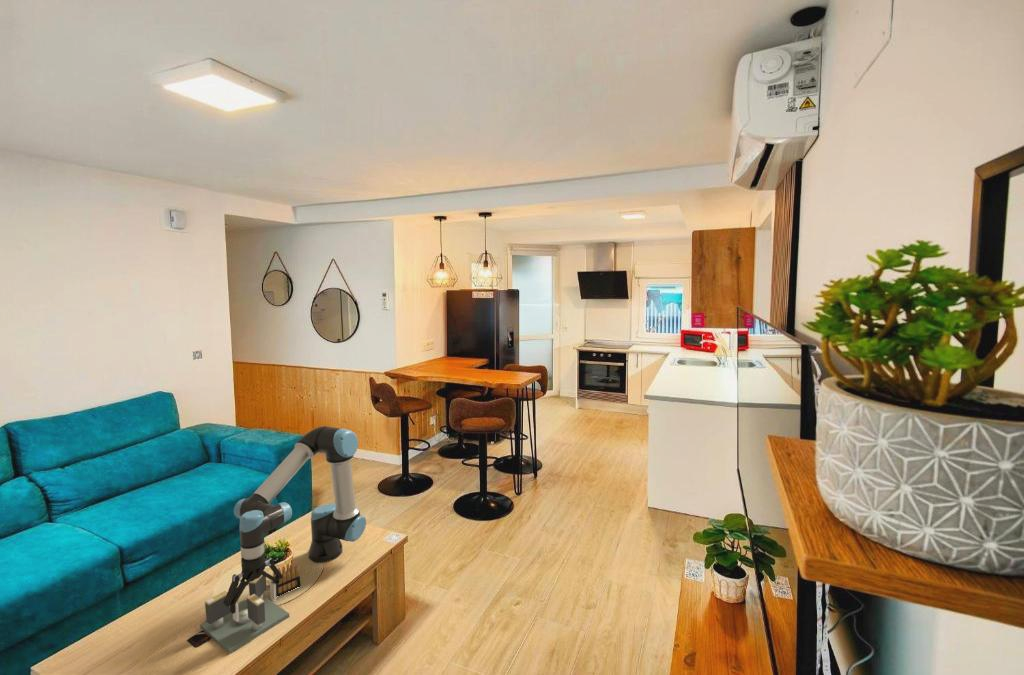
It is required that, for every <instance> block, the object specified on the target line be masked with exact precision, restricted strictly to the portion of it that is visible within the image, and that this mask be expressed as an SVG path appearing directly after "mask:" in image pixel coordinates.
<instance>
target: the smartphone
mask: <svg viewBox="0 0 1024 675" xmlns="http://www.w3.org/2000/svg"><path fill="white" fill-rule="evenodd" d="M211 640H213V639H212V638H211V637H210V636H209V635H208V634H207V633H206V632H204V631H203V630H202V629H201V631H198V632H197V633H195V634H194V635H192V636H190V637H189V638H188V639H187V640H186V642H187V643H188V644H190V645H191V646H193V647H194V648H199V647H201V646H203V645H205V644H206V643H207V642H209V641H211Z"/></svg>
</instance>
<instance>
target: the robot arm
mask: <svg viewBox="0 0 1024 675" xmlns="http://www.w3.org/2000/svg"><path fill="white" fill-rule="evenodd" d="M358 446H359V439H358V437H357V434H356V433H355V431H352V430H351V429H347V428H338V427H333V426H327V425H323V426H322V425H321V426H319V427H316V428H313V429H311V430H310V431H309V432H307V433H305V434H304V435H303V436H302V437H301V438H300V439H299V440H298V441H296V443H295V444H294V448H293V449H292V451H291V452H289V454H288V455H287V456H286V457H285V458H284V459H283V461H282V462H281V463H280V464H279V465H277V467H276V468H275V469H274V470H273V471H272V472H271V474H270V475H269V476H267V478H266V479H265V480H264V481H263V482H262V484H260V486H259V487H257V489H256V490H255V491H254V493H252V495H250V497H248V498H242V499H240V500H238V501H237V502H236V503H235V504H234V505H235V506H234V508H233V514H234V517H235V518H237V519H239V539H240V541H239V542H240V557H241V559H240V564H241V572H240V573H238V574H235V573H234V574H233V575H232V576H231V578H232V579H231V583H230V585H229V588H228V590H227V591H226V592H227V595H226V597H225V600H224V602H223V604H225V605H226V606H227V607H229V606H230V612H231V613H232V614H233V619H234V620H235V621H236V622H238V621H239V609H238V600H239V599H240V598H241V595H242V593H243V592H244V591H245V589H246V588H247V586H249V582H250V581H251V582H252V581H253V580H255V579H257V578H259V577H260V576H261V575H263V576H265V577H266V579H269V580H270V582H269V590H270V591H269V594H270V595H269V596H270V598H269V599H271V601H273V602H275V601H277V598H276V590H278V583H279V579H282V578H283V575H282V572H281V573H280V571H279V570H278V567H277V566H276V565H275V560H274V559H272V558H271V557H268V558H267V559H266V553H265V551H266V550H265V549H266V548H265V534H267V533H269V532H270V531H272V530H274V529H276V528H278V527H280V526H282V525H283V524H284V523H287V522H288V521H290V519H291V518H292V515H293V509H292V507H291V505H290V504H289V503H287V502H286V501H285V502H284V501H283V502H279V503H276V504H271V503H272V502H273V500H274V499H275V498H276V497H277V495H278V494H280V492H281V491H282V490H283V489H284V488H285V486H286V485H288V483H289V482H290V481H291V480H292V478H293V477H294V476H295V475H296V474H297V473H298V471H299V470H300V469H301V468H302V467H303V466H304V465H305V463H306V462H307V461H308V460H309V459H313V458H314V456H315V455H316V454H318V453H319V454H320V453H323V454H325V460H326V462H327V463H329V464H330V470H331V479H332V486H333V487H332V488H333V489H332V490H333V497H334V503H326V504H322V505H320V506H317V507H315V508H314V509H313V510H312V511H311V514H310V516H311V517H310V526H311V528H310V529H311V543H310V546H309V549H308V559H309V560H310V561H311V562H314V563H326V562H330V561H333V560H335V559H337V558H338V557H339V556H341V554H343V543H342V541H345V542H351V543H352V542H353V543H354V542H356V541H358V540H359V539H360V538H361V537H362V535H363V534H364V532H365V530H366V526H367V519H366V517H365V516H364V515H361V512H360V507H359V506H358V505H356V497H355V489H354V478H353V470H352V463H351V462H352V459H353V458H354V455H355V454H356V453H357V450H358V449H357V448H358ZM266 567H269V568H270V570H271V571H272V573H273V572H274V574H275V575H276V576H275V577H273V575H271V574H270V573H268V572H267V571H266V572H265V569H266Z"/></svg>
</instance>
